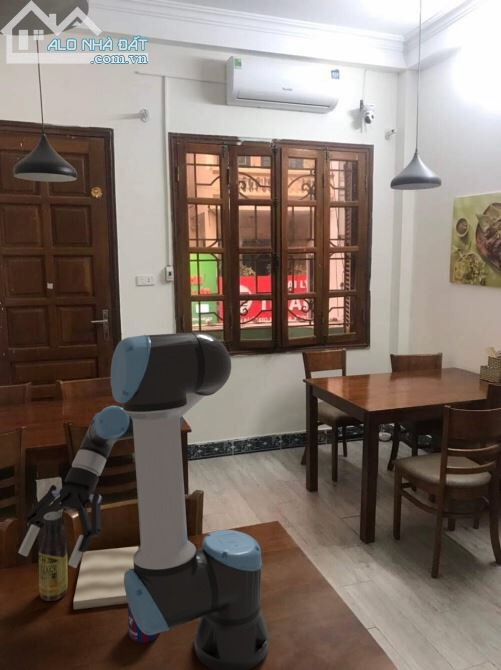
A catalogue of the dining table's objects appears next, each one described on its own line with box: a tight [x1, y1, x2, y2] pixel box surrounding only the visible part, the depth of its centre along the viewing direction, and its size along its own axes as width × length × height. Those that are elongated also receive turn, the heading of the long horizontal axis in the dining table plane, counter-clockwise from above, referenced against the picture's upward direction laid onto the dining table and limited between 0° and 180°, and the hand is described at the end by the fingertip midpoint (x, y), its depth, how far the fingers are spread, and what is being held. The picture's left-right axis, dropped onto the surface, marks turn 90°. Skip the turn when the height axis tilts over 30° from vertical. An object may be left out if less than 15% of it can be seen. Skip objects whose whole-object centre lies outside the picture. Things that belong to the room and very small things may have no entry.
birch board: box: [73, 546, 139, 611], centre depth 126 cm, size 20×14×2 cm
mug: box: [127, 603, 161, 644], centre depth 109 cm, size 7×10×7 cm
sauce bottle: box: [38, 511, 69, 602], centre depth 119 cm, size 6×6×20 cm
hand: (46, 560), depth 117 cm, fingers open, 13 cm apart
